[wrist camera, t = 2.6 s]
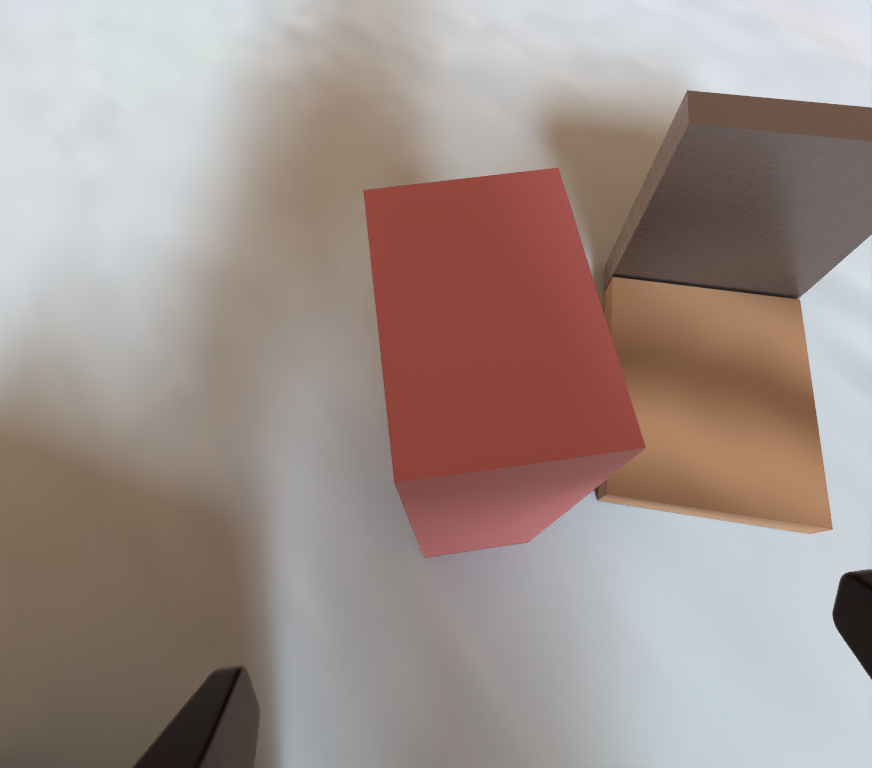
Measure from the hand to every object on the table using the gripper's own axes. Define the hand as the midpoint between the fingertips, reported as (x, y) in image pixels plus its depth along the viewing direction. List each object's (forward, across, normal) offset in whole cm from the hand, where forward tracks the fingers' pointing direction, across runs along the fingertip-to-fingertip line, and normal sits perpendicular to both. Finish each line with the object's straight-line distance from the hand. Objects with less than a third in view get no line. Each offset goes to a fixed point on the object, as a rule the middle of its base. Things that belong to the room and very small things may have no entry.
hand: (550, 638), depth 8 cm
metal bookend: (+17, -12, 0) cm, 21 cm away
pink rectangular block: (+12, 0, +5) cm, 13 cm away
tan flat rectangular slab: (+13, -10, +3) cm, 17 cm away
